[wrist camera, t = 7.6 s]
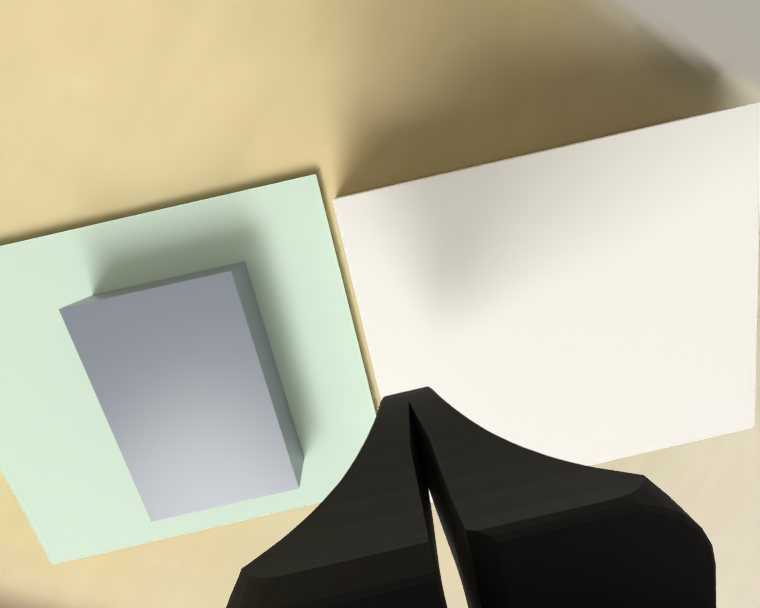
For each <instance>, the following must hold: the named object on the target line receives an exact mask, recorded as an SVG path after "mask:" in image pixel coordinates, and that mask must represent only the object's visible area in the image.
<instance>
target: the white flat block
mask: <svg viewBox="0 0 760 608" xmlns="http://www.w3.org/2000/svg"><path fill="white" fill-rule="evenodd" d="M332 201H333V205H334V209H335V213H336V217H337V221H338V225H339V229H340V234H341V238H342V242H343V246H344V250H345V254H346V258H347V262H348V266H349V270H350V275H351V279H352V283H353V287H354V291H355V295H356V299H357V303H358V307H359V312H360V316H361V320H362V324H363V328H364V332H365V336H366V340H367V344H368V349H369V353H370V357H371V361H372V365H373V369H374V373H375V377H376V381H377V386H378V390H379V394H380V398H381V400H382V399H383V397H384V396H388V395H392V394H397V393H401V392H405V391H410V390H414V389H418V388H423V387H427V386H428V387H430V388H432V389H433V390H434V391H435V392H436V393H437V394H438V395H439V396H440V397H441V398H443V399H444V400H445V401H446V402H447V403H449V404H450V405H451V406H452V407H454V408H455V409H456V410H458V411H459V412H460V413H462V414H463V415H464V416H466V417H467V418H469V419H470V420H472V421H473V422H475V423H476V424H478V425H479V426H481V427H483V428H484V429H486V430H488V431H490V432H491V433H493V434H495V435H497V436H499V437H502V438H504V439H506V440H508V441H510V442H512V443H515V444H517V445H519V446H522V447H524V448H527V449H530V450H533V451H536V452H539V453H541V454H544V455H547V456H551V457H554V458H558V459H561V460H565V461H569V462H573V463H577V464H581V465H585V466H590V465H594V464H598V463H603V462H607V461H611V460H616V459H620V458H624V457H629V456H633V455H637V454H641V453H646V452H650V451H654V450H659V449H663V448H667V447H672V446H676V445H680V444H685V443H689V442H693V441H697V440H702V439H706V438H710V437H715V436H719V435H723V434H728V433H732V432H736V431H741V430H745V429H749V428H753V427H754V424H755V381H756V338H757V295H758V252H759V210H760V102H759V103H754V104H749V105H744V106H740V107H735V108H730V109H725V110H720V111H716V112H711V113H706V114H701V115H697V116H692V117H687V118H683V119H679V120H674V121H670V122H665V123H661V124H657V125H652V126H648V127H644V128H639V129H635V130H630V131H626V132H622V133H617V134H613V135H609V136H604V137H600V138H595V139H591V140H587V141H582V142H578V143H574V144H569V145H565V146H560V147H556V148H552V149H547V150H543V151H539V152H534V153H530V154H525V155H521V156H517V157H512V158H508V159H504V160H499V161H495V162H490V163H486V164H482V165H477V166H473V167H469V168H464V169H460V170H455V171H451V172H447V173H442V174H438V175H434V176H429V177H425V178H420V179H416V180H412V181H407V182H403V183H399V184H394V185H390V186H385V187H381V188H377V189H372V190H368V191H364V192H359V193H355V194H350V195H346V196H342V197H337V198H335V199H333V200H332ZM429 495H430V502H433V500H432V497H431V494H430V491H429Z"/></svg>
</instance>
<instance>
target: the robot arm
mask: <svg viewBox="0 0 760 608" xmlns="http://www.w3.org/2000/svg"><path fill="white" fill-rule="evenodd" d="M429 491H430V494H431V497H432V500H433V502H434V505H435V508H436V511H437V513H438V516H439V519H440V522H441V524H442V527H443V530H444V533H445V535H446V538H447V541H448V544H449V546H450V549H451V552H452V555H453V557H454V560H455V563H456V566H457V569H458V572H459V575H460V578H461V581H462V585H463V589H464V592H465V596H466V600H467V604H468V607H469V608H716V564H715V558H714V553H713V547H712V544H711V542H710V541H709V539H708V537H707V536H706V534H705V532H704V531H703V529H702V528H701V527H700V526H699V525H698V524H697V523H696V522H695V521H694V520H693V519H692V518H691V517H690V516H689V515H688V514H687V513H686V512H685V511H684V510H683V509H682V508H681V507H680V506H679V505H678V504H677V503H676V502H674V501H673V500H672V499H671V498H670V497H669V496H668V495H667V494H666V493H665V492H663V491H662V490H661V489H660V488H658V487H657V486H656V485H655V484H654V483H652V482H651V481H650V480H649V479H648V478H647V477H645V476H644V475H639V474H632V473H626V472H620V471H613V470H607V469H600V468H595V467H590V466H585V465H581V464H577V463H573V462H569V461H565V460H561V459H558V458H554V457H551V456H547V455H544V454H541V453H539V452H536V451H533V450H530V449H527V448H524V447H522V446H519V445H517V444H515V443H512V442H510V441H508V440H506V439H504V438H502V437H499V436H497V435H495V434H493V433H491V432H490V431H488V430H486V429H484V428H483V427H481V426H479V425H478V424H476V423H475V422H473V421H472V420H470V419H469V418H467V417H466V416H464V415H463V414H462V413H460V412H459V411H458V410H456V409H455V408H454V407H452V406H451V405H450V404H449V403H447V402H446V401H445V400H444V399H443V398H441V397H440V396H439V395H438V394H437V393H436V392H435V391H434V390H433V389H432V388H430V387H428V386H427V387H423V388H418V389H414V390H410V391H405V392H401V393H397V394H392V395H388V396H384V397H383V399H382V400H381V402H380V406H379V410H378V412H377V415H376V418H375V420H374V423H373V425H372V427H371V429H370V432H369V434H368V436H367V438H366V440H365V442H364V444H363V446H362V447H361V449H360V451H359V453H358V455H357V456H356V458H355V460H354V462H353V463H352V465H351V466H350V468H349V469H348V471H347V472H346V474H345V475H344V476H343V478H342V479H341V481H340V482H339V483H338V484H337V486H336V487H335V488H334V489H333V490H332V491H331V492H330V493H329V495H328V496H327V497H326V498H325V499H324V500H323V501H322V502H321V503H320V505H319V506H318V507H317V508H316V509H315V510H314V511H313V512H312V513H311V514H310V515H309V516H308V517H307V518H305V519H304V520H303V521H302V522H301V523H300V524H299V525H298V526H297V527H296V528H294V529H293V530H292V531H291V532H290V533H289V534H287V535H286V536H285V537H284V538H283V539H281V540H280V541H279V542H278V543H276V544H275V545H273V546H272V547H271V548H269V549H268V550H267V551H265V552H264V553H263V554H261V555H260V556H259V557H257V558H256V559H255V560H253V561H252V562H251V563H249V564H248V565H246V566H245V567H243V568H242V569H241V572H240V575H239V577H238V580H237V582H236V584H235V587H234V589H233V591H232V594H231V596H230V599H229V601H228V604H227V607H226V608H447V604H446V600H445V596H444V591H443V586H442V581H441V575H440V569H439V562H438V555H437V547H436V540H435V532H434V525H433V517H432V510H431V502H430V495H429Z"/></svg>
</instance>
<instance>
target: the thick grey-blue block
mask: <svg viewBox="0 0 760 608" xmlns="http://www.w3.org/2000/svg"><path fill="white" fill-rule="evenodd" d="M59 311H60V314H61V316H62V318H63V321H64V323H65V325H66V327H67V330H68V332H69V334H70V337H71V339H72V341H73V343H74V346H75V348H76V350H77V353H78V355H79V357H80V359H81V362H82V364H83V366H84V369H85V371H86V373H87V375H88V378H89V380H90V382H91V385H92V387H93V389H94V392H95V394H96V396H97V398H98V401H99V403H100V405H101V408H102V410H103V412H104V414H105V417H106V419H107V421H108V424H109V426H110V428H111V430H112V433H113V435H114V437H115V440H116V442H117V444H118V446H119V449H120V451H121V453H122V456H123V458H124V460H125V463H126V465H127V467H128V469H129V472H130V474H131V476H132V479H133V481H134V483H135V485H136V488H137V490H138V492H139V495H140V497H141V499H142V501H143V504H144V506H145V508H146V511H147V513H148V515H149V517H150V520H151V522H152V521H157V520H161V519H166V518H170V517H175V516H179V515H184V514H188V513H192V512H197V511H201V510H206V509H210V508H215V507H219V506H223V505H228V504H232V503H237V502H241V501H246V500H250V499H255V498H259V497H263V496H268V495H272V494H277V493H281V492H286V491H290V490H294V489H299V486H300V481H301V475H302V469H303V463H304V455H303V452H302V448H301V445H300V442H299V438H298V435H297V432H296V428H295V425H294V422H293V418H292V415H291V412H290V409H289V405H288V402H287V399H286V395H285V392H284V389H283V385H282V382H281V379H280V375H279V372H278V369H277V366H276V362H275V359H274V356H273V352H272V349H271V346H270V342H269V339H268V336H267V332H266V329H265V326H264V323H263V319H262V316H261V313H260V309H259V306H258V303H257V299H256V296H255V293H254V289H253V286H252V283H251V279H250V276H249V273H248V270H247V266H246V263H245V261H244V262H239V263H235V264H230V265H226V266H221V267H217V268H212V269H208V270H203V271H199V272H194V273H190V274H185V275H181V276H176V277H172V278H167V279H162V280H158V281H153V282H149V283H144V284H140V285H135V286H131V287H126V288H122V289H117V290H113V291H108V292H104V293H99V294H95V295H91V296H89V297H87V298H84V299H82V300H79V301H77V302H75V303H72V304H70V305H67V306H65V307H62V308H60V309H59Z"/></svg>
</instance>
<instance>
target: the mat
mask: <svg viewBox="0 0 760 608" xmlns="http://www.w3.org/2000/svg"><path fill="white" fill-rule="evenodd" d="M244 261H245V263H246V266H247V270H248V273H249V276H250V279H251V283H252V286H253V289H254V293H255V296H256V299H257V303H258V306H259V309H260V313H261V316H262V319H263V323H264V326H265V329H266V332H267V336H268V339H269V342H270V346H271V349H272V352H273V356H274V359H275V362H276V366H277V369H278V372H279V375H280V379H281V382H282V385H283V389H284V392H285V395H286V399H287V402H288V405H289V409H290V412H291V415H292V418H293V422H294V425H295V428H296V432H297V435H298V438H299V442H300V445H301V448H302V452H303V455H304V463H303V469H302V475H301V481H300V486H299V489H294V490H290V491H286V492H281V493H277V494H272V495H268V496H263V497H259V498H255V499H250V500H246V501H241V502H237V503H232V504H228V505H223V506H219V507H215V508H210V509H206V510H201V511H197V512H192V513H188V514H184V515H179V516H175V517H170V518H166V519H161V520H157V521H152V522H151V520H150V517H149V515H148V513H147V511H146V508H145V506H144V504H143V501H142V499H141V497H140V495H139V492H138V490H137V488H136V485H135V483H134V481H133V479H132V476H131V474H130V472H129V469H128V467H127V465H126V463H125V460H124V458H123V456H122V453H121V451H120V449H119V446H118V444H117V442H116V440H115V437H114V435H113V433H112V430H111V428H110V426H109V424H108V421H107V419H106V417H105V414H104V412H103V410H102V408H101V405H100V403H99V401H98V398H97V396H96V394H95V392H94V389H93V387H92V385H91V382H90V380H89V378H88V375H87V373H86V371H85V369H84V366H83V364H82V362H81V359H80V357H79V355H78V353H77V350H76V348H75V346H74V343H73V341H72V339H71V337H70V334H69V332H68V330H67V327H66V325H65V323H64V321H63V318H62V316H61V314H60V311H59V309H60V308H62V307H65V306H67V305H70V304H72V303H75V302H77V301H79V300H82V299H84V298H87V297H89V296H91V295H95V294H99V293H104V292H108V291H113V290H117V289H122V288H126V287H131V286H135V285H140V284H144V283H149V282H153V281H158V280H162V279H167V278H172V277H176V276H181V275H185V274H190V273H194V272H199V271H203V270H208V269H212V268H217V267H221V266H226V265H230V264H235V263H239V262H244ZM375 418H376V411H375V407H374V403H373V399H372V395H371V391H370V387H369V383H368V379H367V375H366V371H365V367H364V363H363V359H362V355H361V351H360V347H359V343H358V339H357V335H356V331H355V327H354V323H353V319H352V315H351V311H350V307H349V303H348V299H347V295H346V291H345V287H344V283H343V279H342V275H341V271H340V267H339V263H338V259H337V255H336V251H335V247H334V243H333V239H332V235H331V231H330V227H329V223H328V219H327V215H326V211H325V207H324V203H323V199H322V195H321V191H320V187H319V183H318V179H317V175H316V174H313V175H309V176H304V177H300V178H296V179H291V180H287V181H283V182H278V183H274V184H269V185H265V186H261V187H256V188H252V189H247V190H243V191H239V192H234V193H230V194H226V195H221V196H217V197H212V198H208V199H204V200H199V201H195V202H191V203H186V204H182V205H177V206H173V207H169V208H164V209H160V210H155V211H151V212H147V213H142V214H138V215H134V216H129V217H125V218H120V219H116V220H112V221H107V222H103V223H99V224H94V225H90V226H85V227H81V228H77V229H72V230H68V231H63V232H59V233H55V234H50V235H46V236H42V237H37V238H33V239H28V240H24V241H20V242H15V243H11V244H7V245H2V246H0V470H1V471H2V473H3V475H4V477H5V479H6V481H7V483H8V484H9V486H10V488H11V490H12V492H13V494H14V495H15V497H16V499H17V501H18V503H19V505H20V507H21V508H22V510H23V512H24V514H25V516H26V518H27V519H28V521H29V523H30V525H31V527H32V529H33V531H34V532H35V534H36V536H37V538H38V540H39V542H40V543H41V545H42V547H43V549H44V551H45V553H46V555H47V556H48V558H49V560H50V562H51V564H52V565H54V564H58V563H62V562H66V561H71V560H75V559H79V558H84V557H88V556H92V555H97V554H101V553H105V552H110V551H114V550H118V549H123V548H127V547H131V546H135V545H140V544H144V543H148V542H153V541H157V540H161V539H166V538H170V537H174V536H179V535H183V534H187V533H192V532H196V531H200V530H204V529H209V528H213V527H217V526H222V525H226V524H230V523H235V522H239V521H243V520H248V519H252V518H256V517H261V516H265V515H269V514H274V513H278V512H282V511H286V510H291V509H295V508H299V507H304V506H308V505H312V504H317V503H321V502H322V501H323V500H324V499H325V498H326V497H327V496H328V495H329V493H330V492H331V491H332V490H333V489H334V488H335V487H336V486H337V484H338V483H339V482H340V481H341V479H342V478H343V476H344V475H345V474H346V472H347V471H348V469H349V468H350V466H351V465H352V463H353V462H354V460H355V458H356V456H357V455H358V453H359V451H360V449H361V447H362V446H363V444H364V442H365V440H366V438H367V436H368V434H369V432H370V429H371V427H372V425H373V423H374V420H375Z"/></svg>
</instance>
